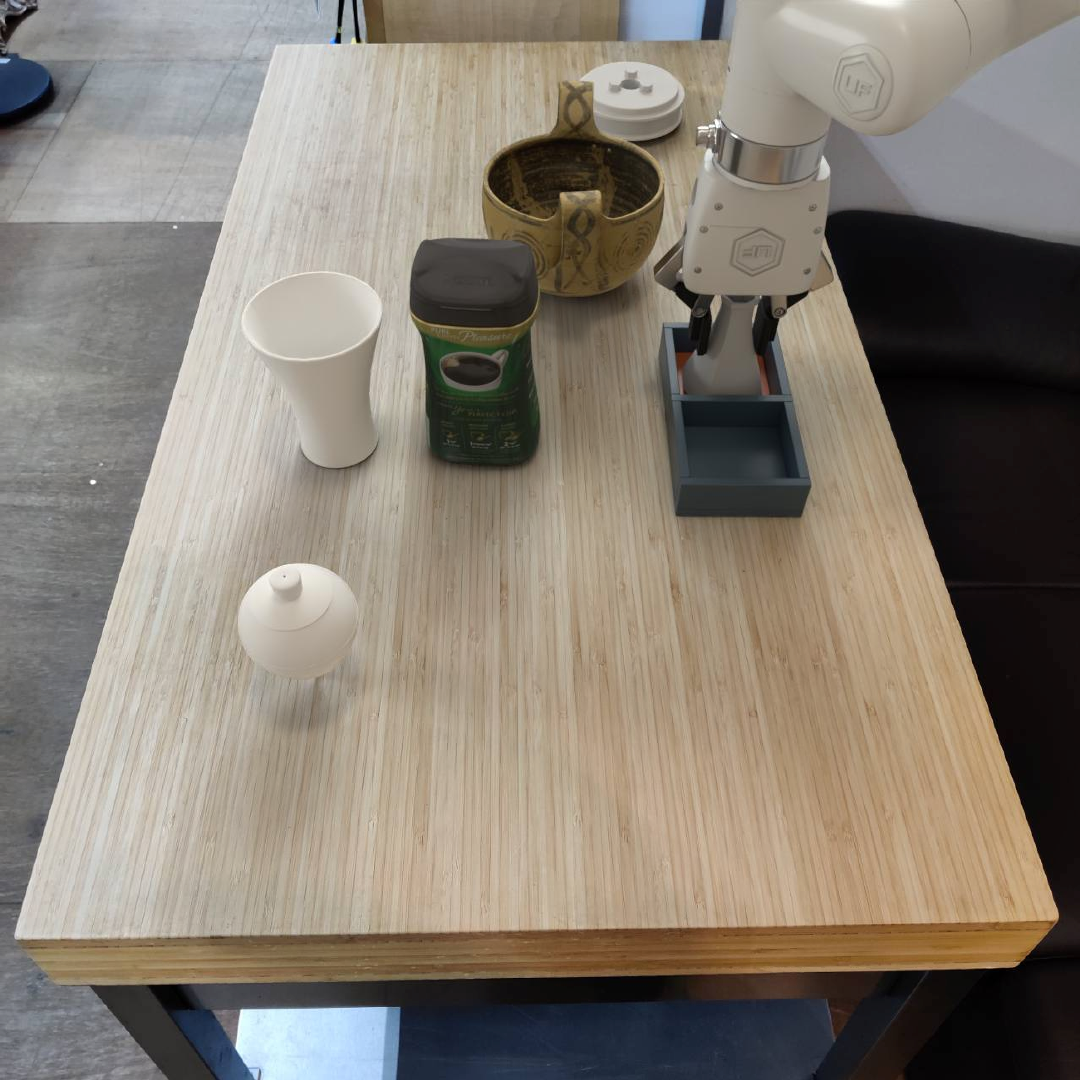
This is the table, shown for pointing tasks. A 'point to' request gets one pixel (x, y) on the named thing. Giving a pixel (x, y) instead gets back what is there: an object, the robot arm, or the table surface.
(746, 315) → the flask
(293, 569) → the spinning top
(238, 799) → the table surface
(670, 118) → the lid
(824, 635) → the table surface
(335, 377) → the cup
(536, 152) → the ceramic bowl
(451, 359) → the coffee jar
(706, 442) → the divided tray
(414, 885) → the table surface
